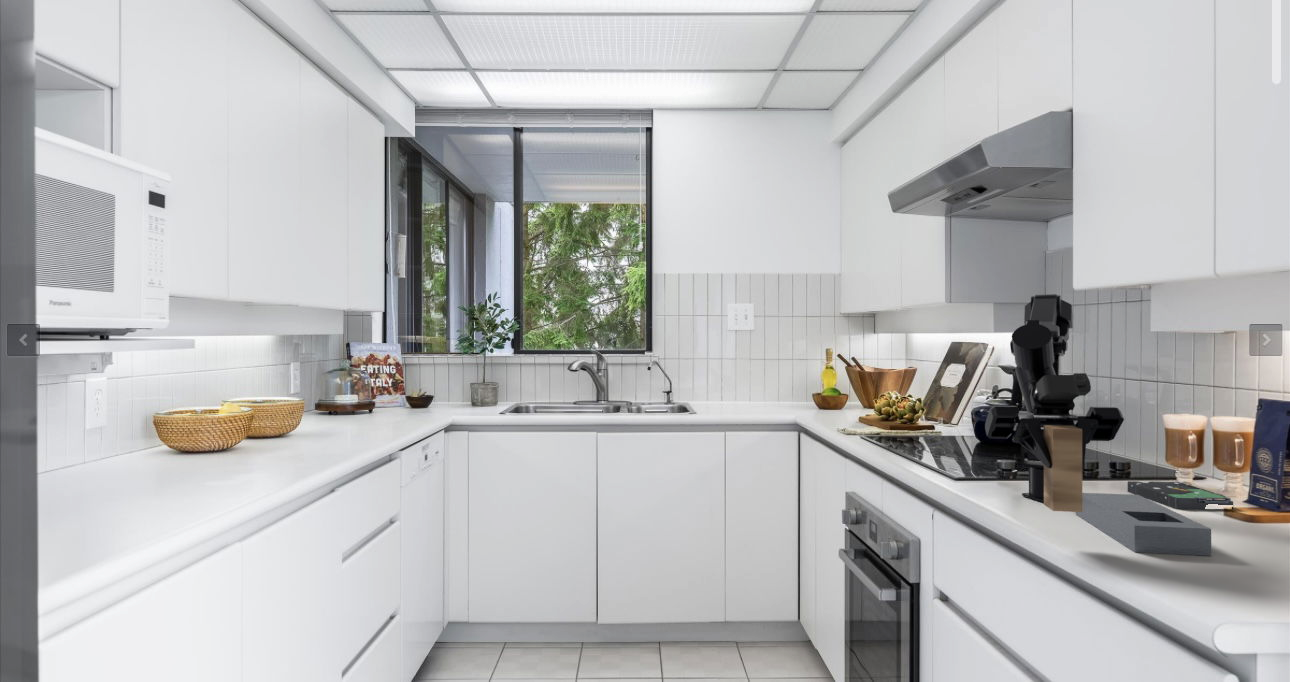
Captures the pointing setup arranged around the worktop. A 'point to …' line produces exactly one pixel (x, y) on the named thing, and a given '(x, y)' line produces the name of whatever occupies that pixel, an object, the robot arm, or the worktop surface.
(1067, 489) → the walnut peg
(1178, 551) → the block
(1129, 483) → the disk drive
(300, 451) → the worktop surface
